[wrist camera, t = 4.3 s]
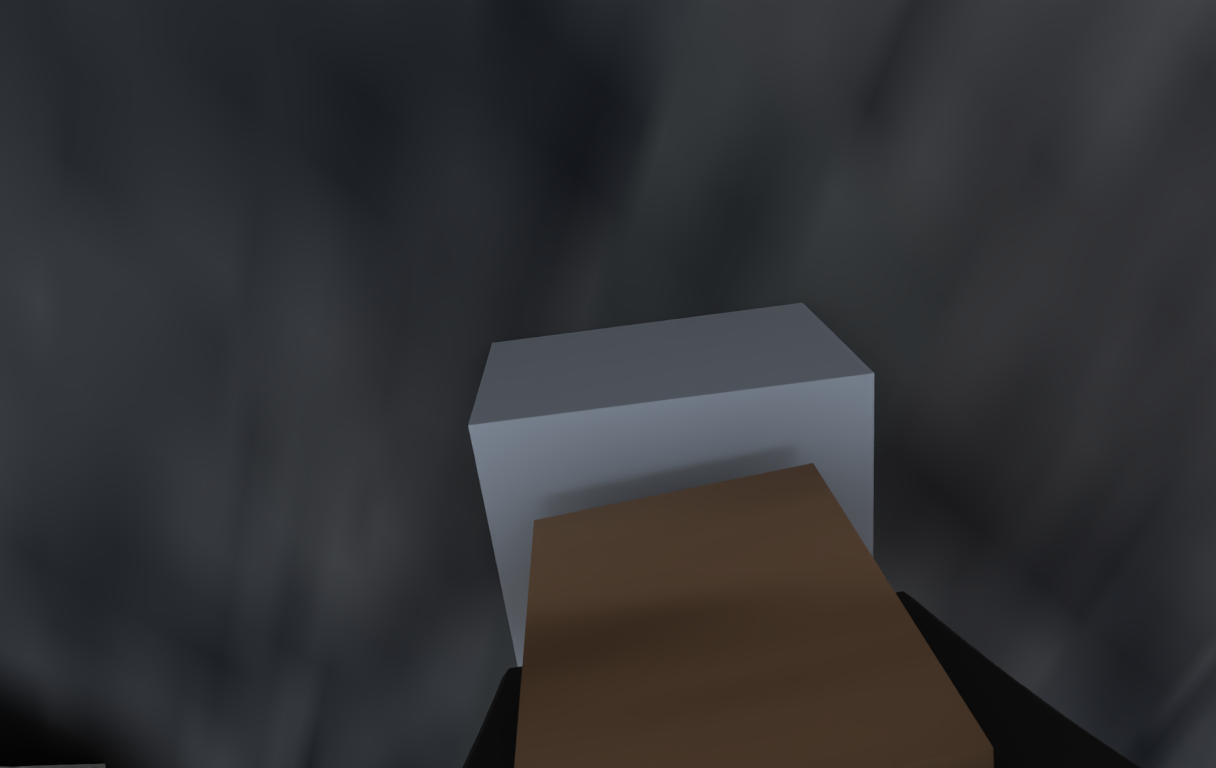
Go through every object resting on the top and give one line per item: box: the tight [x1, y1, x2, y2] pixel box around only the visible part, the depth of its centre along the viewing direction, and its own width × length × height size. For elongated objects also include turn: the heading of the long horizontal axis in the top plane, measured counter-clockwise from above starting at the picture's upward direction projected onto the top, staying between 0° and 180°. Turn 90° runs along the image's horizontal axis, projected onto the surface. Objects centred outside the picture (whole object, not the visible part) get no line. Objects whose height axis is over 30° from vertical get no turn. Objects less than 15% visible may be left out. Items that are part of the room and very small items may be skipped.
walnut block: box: [514, 463, 994, 768], centre depth 9 cm, size 4×4×5 cm
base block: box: [468, 303, 874, 667], centre depth 14 cm, size 6×6×4 cm
